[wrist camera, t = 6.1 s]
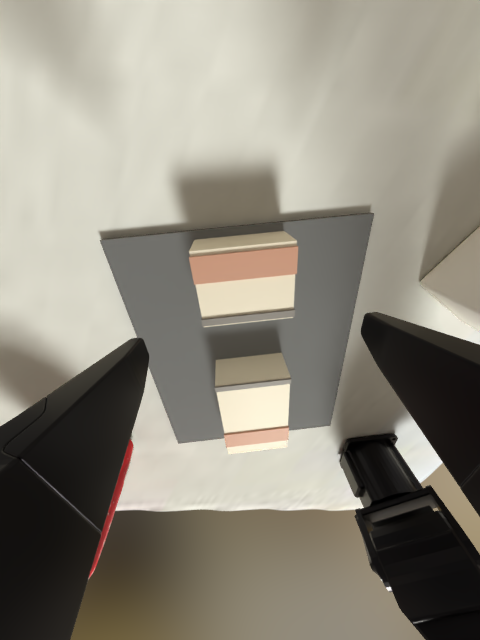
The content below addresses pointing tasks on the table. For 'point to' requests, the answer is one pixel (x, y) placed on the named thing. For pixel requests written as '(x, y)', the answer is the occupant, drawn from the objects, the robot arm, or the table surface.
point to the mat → (244, 338)
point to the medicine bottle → (459, 281)
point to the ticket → (253, 402)
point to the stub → (245, 277)
